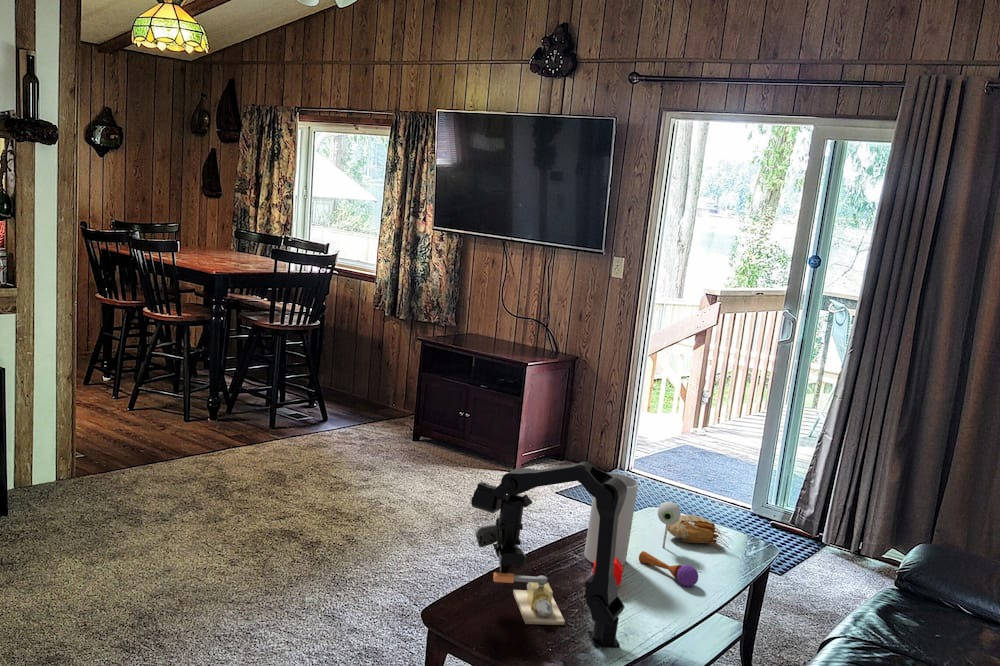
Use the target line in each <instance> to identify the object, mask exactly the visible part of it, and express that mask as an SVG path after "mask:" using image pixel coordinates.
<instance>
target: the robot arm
mask: <svg viewBox="0 0 1000 666" xmlns="http://www.w3.org/2000/svg"><path fill="white" fill-rule="evenodd" d="M608 473H609V472H606V471H604V470H601V469H599V468H597V467H595V466H594V465H593V464H592V463H590V462H587V461H581V462H579V463H574V464H568V465H561V466H555V467H547V468H543V469H534V468H530V467H517V468H514V469H513V470H510V471H508V472H507V473H505V474H503V475H502V477H501V480H500V484H499V485H498V486H494V485H490V484H489V483H486V482H485V481H484V482H483V481H481V482H478V483H477V487H476V488H475V491H474V492H473V495H472V497H471V507H472V508H474V509H477V510H480V511H484V512H487V513H491V514H496V512H497V511H499V517H497V518H496V519H495V523H493V524H487V525H483V526H481V527H477V528H475V529H474V535H475V538H476V541H477V545H478V547H479V548H484V547H487V546H491V545H492V546H493V548H494V550H495V554H496V556H497V558H498V561H499V571H500V572H499V573H509V571H510V570H511V569H512V567H513V566H525V565H526V559H527V556H526V554H525V552H524V550H523V549H522V548H521V547H519V546H521V543H522V541H521V538H520V536H521V531H522V530H523V529H524V526H523V524H522V520H523V515H524V514H523V513H524V508H528V507H529V506H531V505H532V504H533V501H532V500H531V498H529V497H530V496H529V495H528V494H524V495H523V496H522V495H520V494H522V493H526V492H527V491H530V490H532V489H535V488H539V487H545V486H553V485H558V484H559V485H560V484H564V483H565V484H566V483H573V482H577V483H580V484H581V485H582V487H584V489H585V490H586V491H587V492H588V493H589V495H591V496H592V497H593V496H594V497H595V498H596V508H597V511H598V514H599V517H600V521H599V532H598V543H597V554H596V565H595V574H593V573H592V575H591V576H590V577H588V579H586V581H585V585H584V586H585V591H584V596H583V598H584V599H585V603H586V606H587V607H588V608H589V610H590V615H591V620H592V621H593V626H592V630H587V632H586V633H587V636H588V638H589V639H590V642H591V643H592V645H593V646H594V647H596V648H597V647H598V648H601V647H602V648H603V647H604V648H608V647H609V648H620V646H621V645H620V642H619V641H618V639H617V632H618V626H619V619H620V618H619V616H620V615H621V614H623V611H624V610H625V605H624V603H623V601H622V600H621V598H620V597H619V596H618V586H617V584H616V580H615V577H614V573H613V570H614V559H615V548H616V537H617V526H618V517H619V514H620V512H621V509H622V507H623V505H624V501H625V498H626V494H627V487H626V485H625V484H624V482H623V481H621V480H620V479H618V478H614V477H612V476H611V475H609V474H608Z"/></svg>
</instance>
